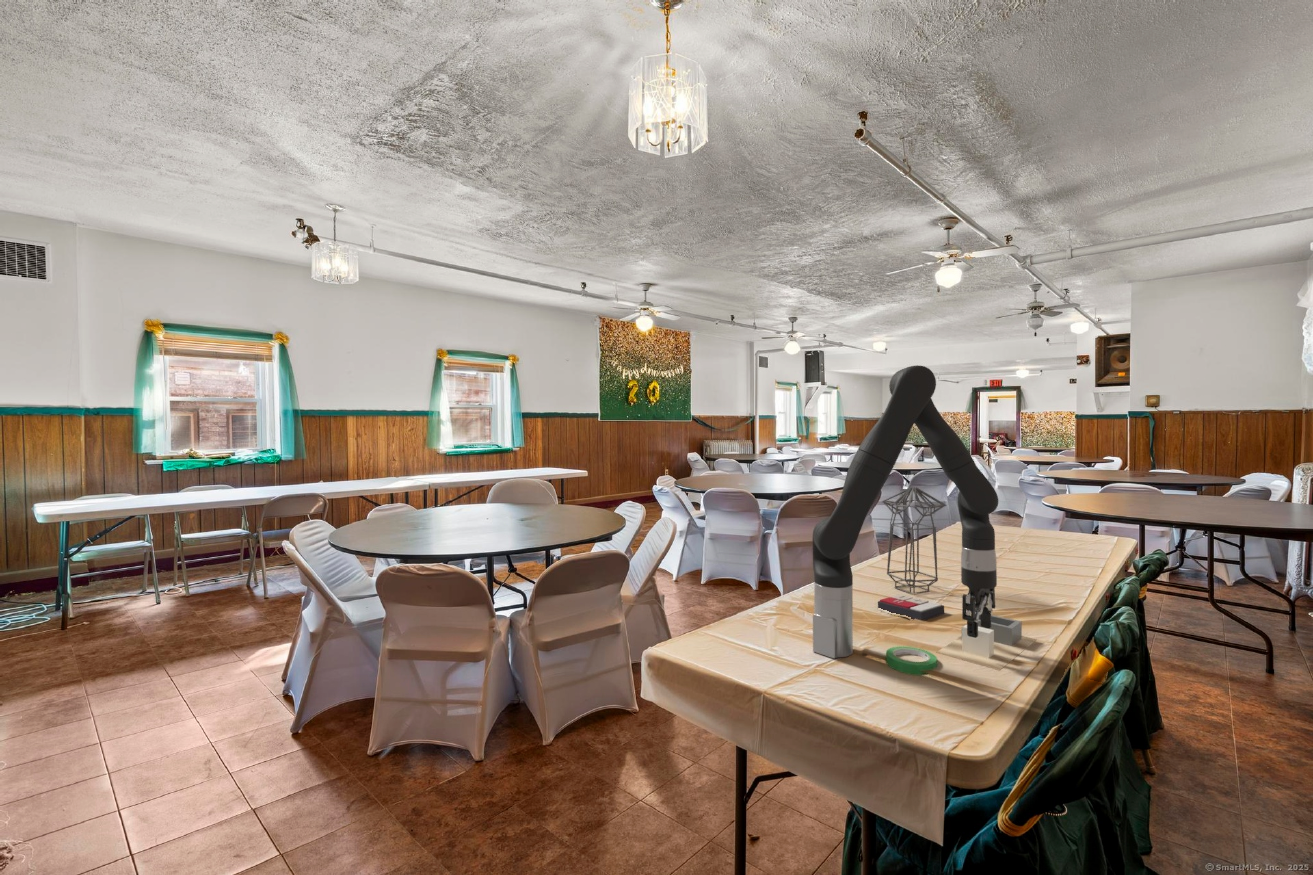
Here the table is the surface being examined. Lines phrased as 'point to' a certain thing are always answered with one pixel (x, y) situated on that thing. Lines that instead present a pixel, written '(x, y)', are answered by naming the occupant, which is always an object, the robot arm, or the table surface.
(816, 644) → the robot arm
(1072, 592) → the table surface
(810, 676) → the table surface
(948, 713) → the table surface
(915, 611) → the calculator
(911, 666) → the tape roll
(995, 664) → the beige mat
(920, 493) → the geometric lantern
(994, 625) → the end holder
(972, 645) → the white block
